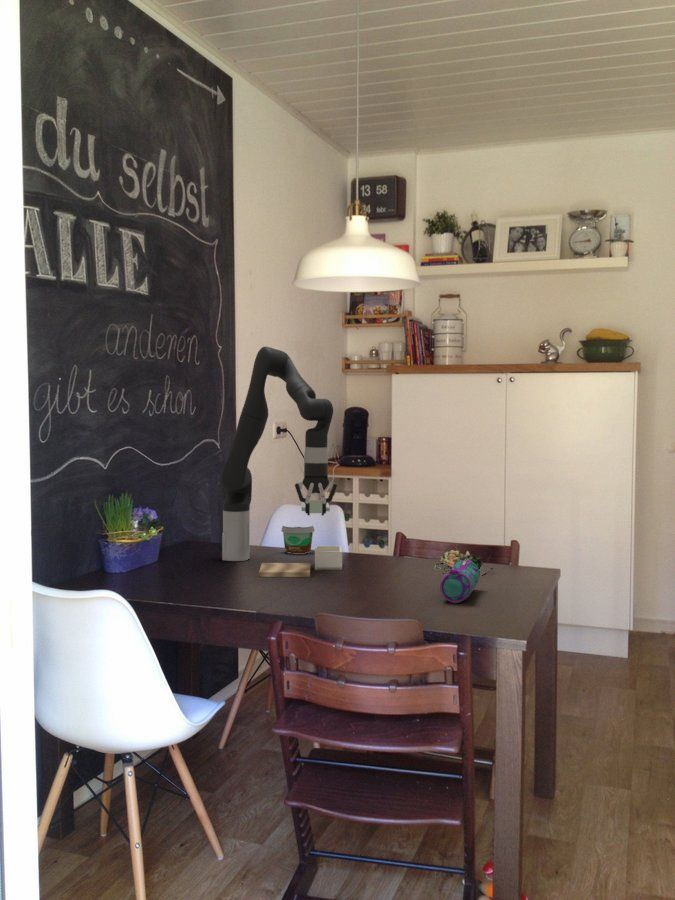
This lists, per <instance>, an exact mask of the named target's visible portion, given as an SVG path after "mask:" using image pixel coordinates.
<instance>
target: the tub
mask: <svg viewBox="0 0 675 900" xmlns="http://www.w3.org/2000/svg"><path fill="white" fill-rule="evenodd" d="M342 548H343V547H342V545H314V570H315V571H320V570H321V571H323V570H324V571H326V570H327V571H329V570H330V571H342V570H343V549H342Z"/></svg>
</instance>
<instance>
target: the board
mask: <svg viewBox="0 0 675 900" xmlns="http://www.w3.org/2000/svg"><path fill="white" fill-rule="evenodd" d="M258 577H259V578H310V577H311V563H310V562H262V563H261V565H260V568H259V571H258Z"/></svg>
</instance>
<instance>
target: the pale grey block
mask: <svg viewBox="0 0 675 900" xmlns="http://www.w3.org/2000/svg"><path fill="white" fill-rule="evenodd" d="M309 503H310V514H322V499H320V500H319V499H310V500H309ZM330 508H331V507H330V505H329V502H328V503H327V504H326V512H331V511H330ZM301 512H305V503H304V502H301Z"/></svg>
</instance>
